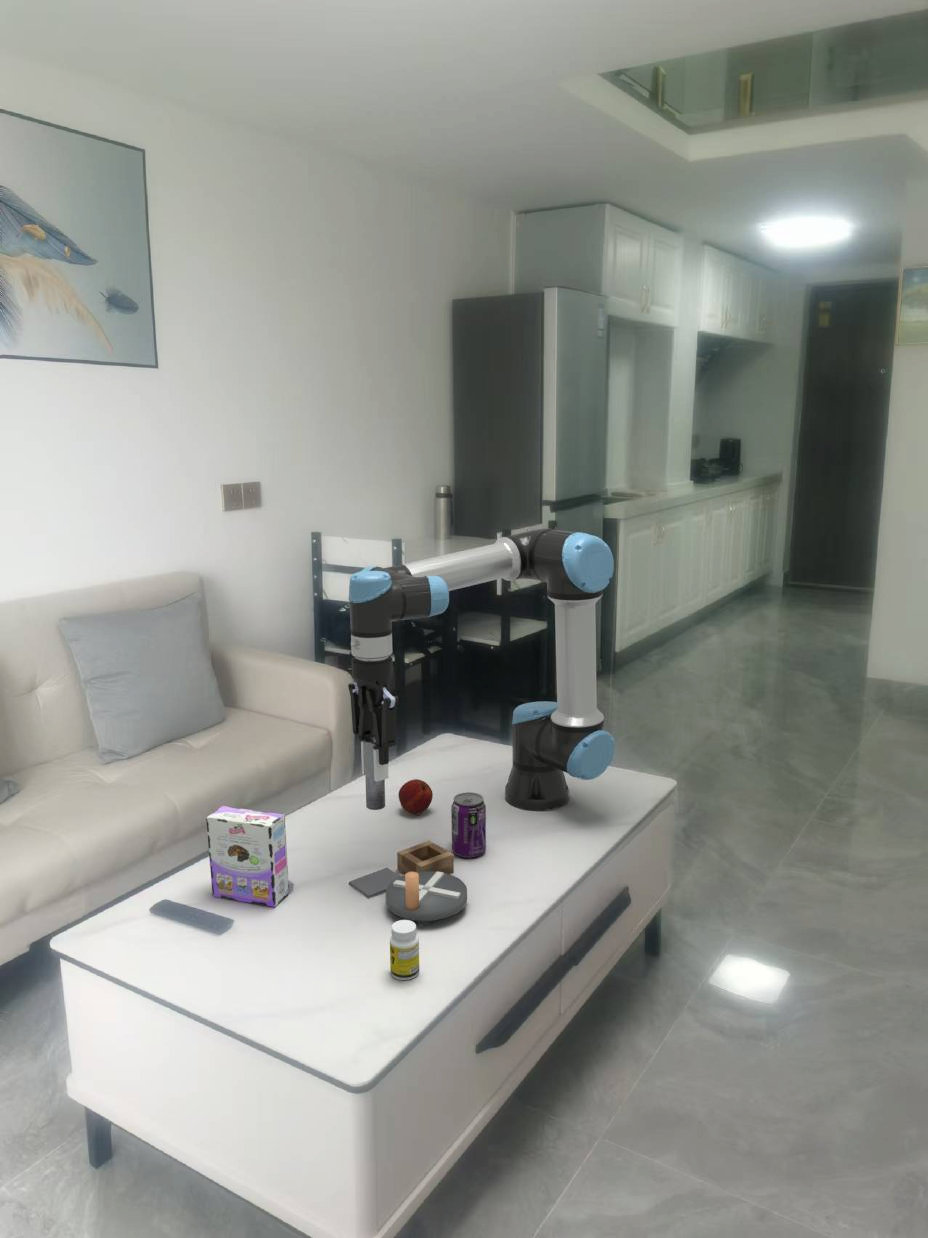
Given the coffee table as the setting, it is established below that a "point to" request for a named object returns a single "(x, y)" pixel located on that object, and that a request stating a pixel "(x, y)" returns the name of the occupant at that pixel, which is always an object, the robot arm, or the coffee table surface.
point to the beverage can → (468, 825)
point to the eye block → (425, 859)
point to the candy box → (248, 855)
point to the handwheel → (426, 895)
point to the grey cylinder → (373, 788)
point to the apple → (415, 796)
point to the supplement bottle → (404, 950)
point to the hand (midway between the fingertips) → (375, 775)
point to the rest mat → (374, 882)
